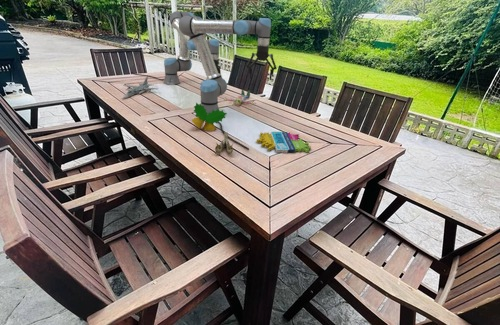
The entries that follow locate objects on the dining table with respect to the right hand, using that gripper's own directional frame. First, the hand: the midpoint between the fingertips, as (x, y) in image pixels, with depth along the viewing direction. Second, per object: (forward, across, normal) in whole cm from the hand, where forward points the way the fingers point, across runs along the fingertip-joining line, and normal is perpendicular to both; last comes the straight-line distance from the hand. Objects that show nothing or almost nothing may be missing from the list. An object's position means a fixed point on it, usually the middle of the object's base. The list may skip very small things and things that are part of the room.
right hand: (260, 79), depth 178 cm
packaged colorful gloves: (+26, -11, +46) cm, 54 cm away
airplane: (+26, +99, -47) cm, 113 cm away
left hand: (+19, +35, -54) cm, 68 cm away
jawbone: (+26, +22, +59) cm, 68 cm away
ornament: (+26, +33, +28) cm, 50 cm away
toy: (+26, +11, -35) cm, 45 cm away
